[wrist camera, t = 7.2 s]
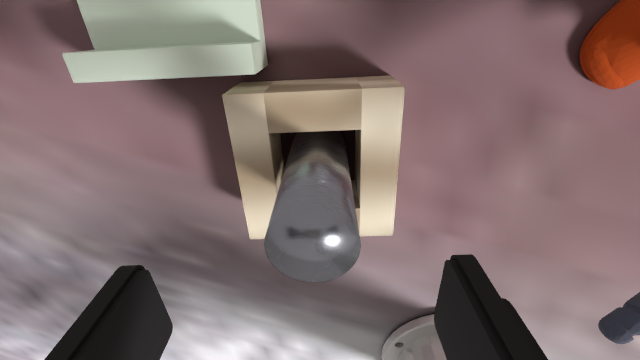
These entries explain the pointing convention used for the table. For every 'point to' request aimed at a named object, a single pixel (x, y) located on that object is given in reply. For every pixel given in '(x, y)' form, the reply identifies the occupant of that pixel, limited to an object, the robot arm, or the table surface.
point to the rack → (169, 40)
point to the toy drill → (616, 72)
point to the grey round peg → (314, 211)
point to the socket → (317, 115)
